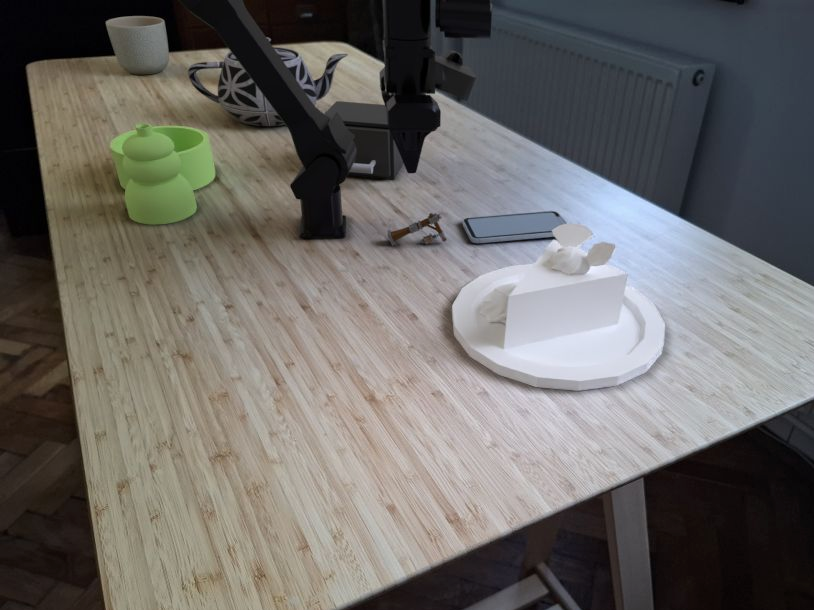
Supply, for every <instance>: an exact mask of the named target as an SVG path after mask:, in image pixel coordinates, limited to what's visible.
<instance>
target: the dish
mask: <svg viewBox="0 0 814 610" xmlns="http://www.w3.org/2000/svg"><path fill="white" fill-rule="evenodd" d="M566 223H567V224H563V225H559V226H558V227H556V228H554V229H553V230H552V233H553V235H554V236H555V237H554V238H555V239H552V241H550V243H549V245H547V247H546V248H545V250H543V252H542V253H541V255H540V256H539V257H538V258H537V260H536V261H535V262H534V263H530V264H519V265H517V264H516V265H508V266H505V267H502V268H499V269H495V270H492V271H488V272H486V273H483V274H480V275H479V276H478V277H476V278H474V279H473V280H471V282H469V283H467V284H466V285H464V286H463V287H462V288H461V289H460V291H459V292H458V295H457V296H456V298H455V300H454V302H453V303H452V305H451V320H452V328H453V329H452V330H453V336H454V338H455V339H456V340H457V342H458V343H459V344H460V345H461V347H462V348H463V350H464V351H465V352H466V353H467V355H468V357H470V358H472V359H473V360H475V361H476V362H477V363H479V364H481V365H483V366H484V367H485V368H487V369H489V370H490V371H492V372H493V373H495V374H497V375H498V376H501V377H504V378H507V379H510V380H514V381H516V382H520V383H523V384H526V385H529V386H532V387H536V388H542V389H543V388H544V389H554V390H563V391H564V390H565V391H573V392H574V391H576V392H581V391H588V390H594V389H602V388H610V387H616V386H617V387H618V386H619V385H622V384H624V383H626V382H628V381H630V380H632V379H635V378H637V377H639V376H642V375H644V374H646V373H647V371H648V370H649V369H650V368H651V367H652V366H653V365H654V363H655V362H656V361H657V360H658V359H659V358H660V356H661V355H662V353H663V349H664V346H665V345H664V344H665V333H666V322H665V321H664V319H663V318H662V316H661V314H660V312H659V309H658V308H657V307H656V305H655V303H653V302H652V301H651V300H650V299H649V298H647V296H645V295H644V294H642V293H641V292H640V291H639V290H638V289H636V287H634V286H631V285H630V284H628V283H627V281H628V277H629V273H628V272H627V271H624V270H622V269H620V268H617V267H615V266H613V265H611V264H608V262H609V261H610V260H611V259H612V257H613V255H614V253H615V251H616V248H617V245H616V243H611V242H606V241H601V242H598V243H595V244H593V246H592V247H591V248H590V249H588V252H587V251H586V250H584V249H582V248H581V247H583V246H584V245H585V244H587V242H589V241H590V240H592V238H594V237H595V234H594V232H593V231H591V229H590V228H589V227H588V226H586V225H584V224H581V223H580V222H579V223H577V222H566Z"/></svg>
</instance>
